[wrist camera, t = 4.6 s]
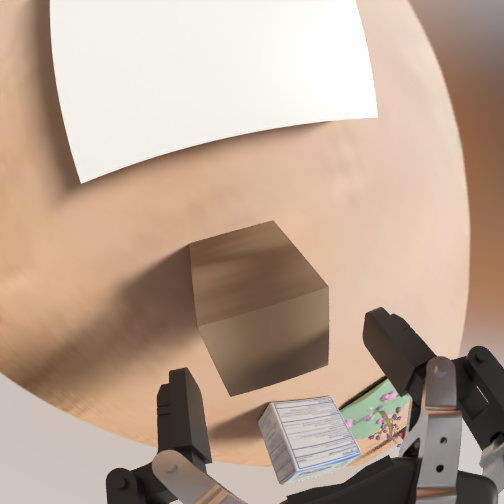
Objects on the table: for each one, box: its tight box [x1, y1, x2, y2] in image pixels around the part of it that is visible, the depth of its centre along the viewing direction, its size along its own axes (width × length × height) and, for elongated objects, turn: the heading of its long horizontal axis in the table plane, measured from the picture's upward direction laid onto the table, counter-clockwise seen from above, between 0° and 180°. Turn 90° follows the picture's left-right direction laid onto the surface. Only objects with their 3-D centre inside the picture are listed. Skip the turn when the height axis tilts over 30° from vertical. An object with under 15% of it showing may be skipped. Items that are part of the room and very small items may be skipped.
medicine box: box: [258, 396, 361, 485], centre depth 23 cm, size 8×4×9 cm, turn 73°
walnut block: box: [189, 221, 329, 397], centre depth 14 cm, size 5×5×7 cm
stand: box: [50, 0, 378, 184], centre depth 8 cm, size 14×14×3 cm
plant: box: [340, 378, 411, 447], centre depth 32 cm, size 25×21×9 cm
